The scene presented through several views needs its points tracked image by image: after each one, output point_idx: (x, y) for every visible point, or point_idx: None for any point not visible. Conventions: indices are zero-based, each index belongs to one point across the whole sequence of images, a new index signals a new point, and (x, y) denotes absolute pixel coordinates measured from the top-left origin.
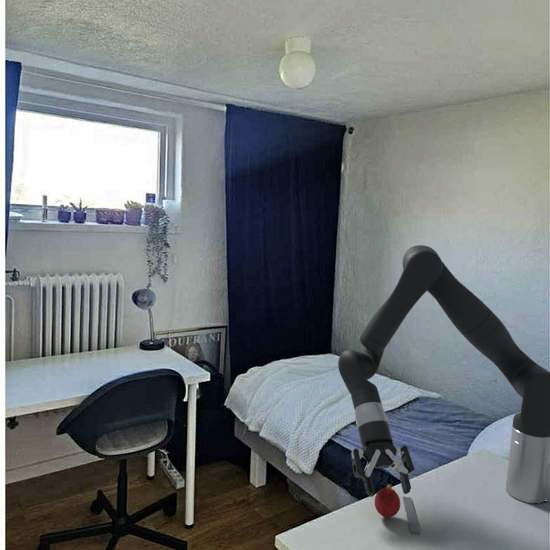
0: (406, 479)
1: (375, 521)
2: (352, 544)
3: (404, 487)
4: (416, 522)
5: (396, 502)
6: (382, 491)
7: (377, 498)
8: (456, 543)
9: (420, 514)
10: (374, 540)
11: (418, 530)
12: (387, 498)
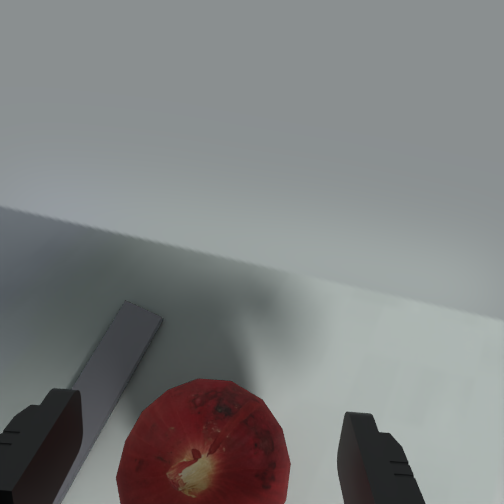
0: (13, 451)
1: None
2: (450, 314)
3: (64, 441)
4: (88, 374)
5: (182, 389)
6: (251, 471)
7: (285, 469)
8: (23, 222)
9: None
10: (348, 315)
11: (123, 316)
12: (241, 406)
